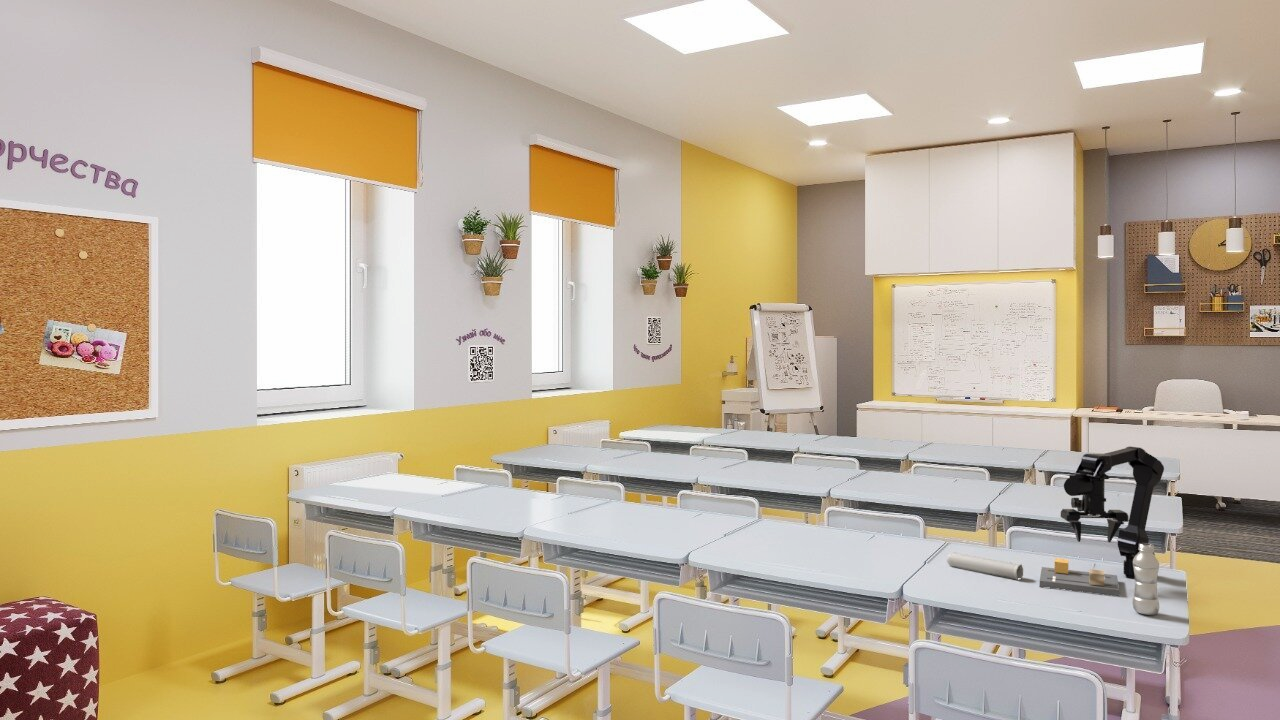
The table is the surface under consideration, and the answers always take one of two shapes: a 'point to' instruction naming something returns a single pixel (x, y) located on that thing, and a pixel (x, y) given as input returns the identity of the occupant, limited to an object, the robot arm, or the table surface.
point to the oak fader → (1096, 577)
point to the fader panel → (1078, 582)
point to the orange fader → (1061, 565)
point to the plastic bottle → (1146, 580)
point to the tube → (986, 565)
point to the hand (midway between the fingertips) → (1093, 541)
